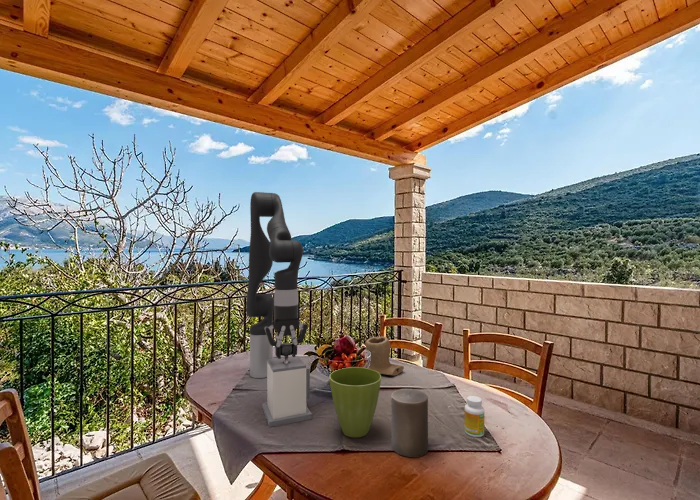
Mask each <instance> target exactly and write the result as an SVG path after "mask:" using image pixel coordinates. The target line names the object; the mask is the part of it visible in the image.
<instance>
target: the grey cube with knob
mask: <svg viewBox="0 0 700 500" xmlns="http://www.w3.org/2000/svg"><path fill="white" fill-rule="evenodd" d="M310 370H311V369H310V367H307V365H306V363H305V362H304V361H303V360H302V359H301V358H300V356H299V355H295V357H292V356H288V363H286V364H284V357H281V359H278V357H276V358H273V359H269V360H267V377H266V378H267V379H266V381H267V384H266V387H267V390H266V391H267V393H266V397H267V400H266V401H267V402H265V403H262V408H263V409H262V411H264V412H263V414H264V417H265V419H267V420H266V423H267V424H268V428H272V427H276V426H283V425H288V424H292V423H298V422H303V421H308V420H313V413H312V411H310V409H309V407H308V406H307V401H308V400H309V401H310V400H311V394H310V393H311V384H310V383H311V381H310V379H311V377H310V376H311V375H310V374H311V373H310Z"/></svg>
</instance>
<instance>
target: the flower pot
mask: <svg viewBox="0 0 700 500" xmlns="http://www.w3.org/2000/svg"><path fill="white" fill-rule="evenodd" d="M328 378H329V383H330V385H329V387H330V386H331V389H330V391H331V395H332V396H331V398H332V401H333V405H334V409H335V413H336V416H337V419H338V423H339V425H340V428H341V430H342V433H343V434H344V435H345V436H346V435H347V437H349V438H362V437H364V436H367V434H368V433H369V431H370V429H371V425H372V423H373V420H374V416H375V413H376V409H377V404H378V401H379V395H380V390H381V381H382V374H380V373H378V372H377V371H375V370H372V369H368V368H366V367H362V366H360V367H359V366H349V367H346V368H342V369H338V370H335V371H333V372H332V373H331V374H330V375H328Z"/></svg>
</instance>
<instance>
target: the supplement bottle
mask: <svg viewBox="0 0 700 500" xmlns="http://www.w3.org/2000/svg"><path fill="white" fill-rule="evenodd" d="M463 411H464V412H463V413H464V418H463V421H464V425H463V426H464V432H465V434H466V435H468V436H470V437H474V438H481V437H483V436H484V435H485V407H483V400H482V398H481V397H479V396H476V395H469V396H467V398H466V404H465V405H464V410H463Z"/></svg>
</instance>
